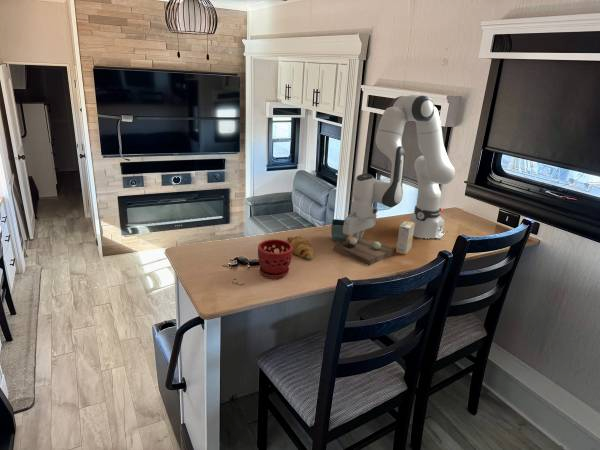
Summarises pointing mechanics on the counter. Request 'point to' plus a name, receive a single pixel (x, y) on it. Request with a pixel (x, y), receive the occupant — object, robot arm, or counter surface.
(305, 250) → the croissant
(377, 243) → the sage ball
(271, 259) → the plant pot
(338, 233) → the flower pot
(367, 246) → the board
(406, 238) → the supplement box
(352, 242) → the ivory ball
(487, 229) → the counter surface
